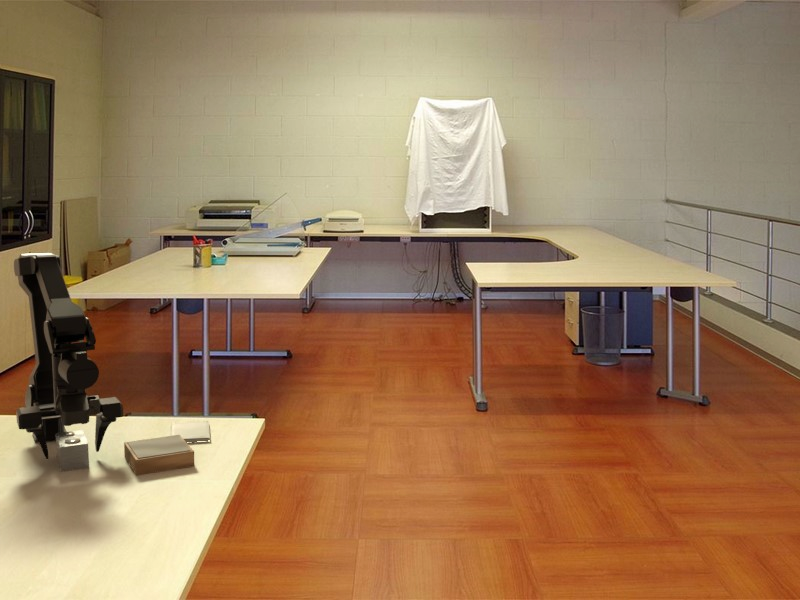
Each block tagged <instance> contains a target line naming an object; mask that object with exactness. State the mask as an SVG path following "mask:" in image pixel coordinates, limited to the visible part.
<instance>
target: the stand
mask: <svg viewBox="0 0 800 600" xmlns="http://www.w3.org/2000/svg"><path fill="white" fill-rule="evenodd" d="M123 444H124V445H123V447H124V452H123V453H124V458H125V460H126V462H127V463H128V465H129V466H130V467H131V469H132V470H133V472H134V474H135V476H141V475H147V474H153V473H159V472H165V471H172V470H178V469H183V468H184V469H185V468H189V467H194V466H195V450H194V449H193V448H192V447H191V446H190V445H189V443H186V441H185V440H184V439H183V438H182V437H181V436H180V435H174V436H171V435H168V436H160V437H153V438H147V439H140V440H132V441H125V442H123Z"/></svg>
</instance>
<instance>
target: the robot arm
mask: <svg viewBox="0 0 800 600" xmlns="http://www.w3.org/2000/svg"><path fill="white" fill-rule="evenodd" d="M62 267H63V266H62V258H61V256H59V254H58V255H57V254H54V253H51V252H45V253H43V252H42V253H39V252H37V253H21V254H19V257H17V258H15V259H14V260H13V272H14V276H15V277H17V280H18V285H19V287H20V288H21V289H22V291H24V293H25V294H26V295H27V296H28V297H27V298H28V304H29V311H30V322H31V330H32V331H31V332H32V340H33V348H34V359H35V365H34V368H33V369H32V372H31V374H30V375H29V379H28V380H29V384H28V385H27V387H26V392H25V396H24V403H25V407H23V406H22V407H19V408H18V409H17V410H16V411H15V413H16V416H15V417H16V424H17V428H18V429H19V430H25V431H26V433H28V434H29V433H32V436H33V439H34V442H36V443H39V445H40V448H41V451H42V452H43V456H44V458H45V460H49V449H48V445H47V441H56V433H62V432H68V431H67V428H66V427H69V426H72V425H79V424H81V425H85V424H88V423H89V422H90V416H95V435H94V436H95V439H94V445H95V452H96V453H98V452H100V448H101V446H102V442H103V440H104V436H105V434H106V431H107V430H108V427H109V426H110V424H111V423H114V422H117V418H122V417H124V406H123V404H122V402H121V401H120V400H119V398H117V397H116V396H113V397H105V398H100V397H99V395H98V394H97V395H87V392H86V389H89V388H91V387H93V386H94V385H95V384H96V383H97V381H98V379H99V376H100V371H99V370H100V369H99V368H98V365H97V364H96V362H95V361H93V360H92V359H91V358H89V356H88V352H87V351H95V350H96V346H95V345H96V343H97V339H96V336H95V333H94V329H93V326H92V323H91V322H90V320H89V318H88V317H86V315H85V313H84V311H83V309H82V307H81V306H80V305H78V304H77V303H75V302H73V301H72V298H71V295H70V292H69V289H68V287H67V285H66V281H65V279H64V276H63V269H62Z"/></svg>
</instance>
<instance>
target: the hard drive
mask: <svg viewBox="0 0 800 600" xmlns="http://www.w3.org/2000/svg"><path fill="white" fill-rule="evenodd" d="M174 435H180V436H181V437H182V438H183V439H184V440H185V441H186V443H187V442H197V441H208V440H210V441H211V432H210V422H209V420H207V421H201V420H188V421H187V420H185V421H184V420H183V421H173V422H171V425H170V436H174ZM187 444H188V443H187Z"/></svg>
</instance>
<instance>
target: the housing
mask: <svg viewBox="0 0 800 600" xmlns="http://www.w3.org/2000/svg"><path fill="white" fill-rule="evenodd" d="M55 446H56V447H55V448H56V449H55V450H56V458H57V462H58V465H59V470H60V472H61V473H62V472H69V471H77V470H83V469H84V470H85V469H90V454H89V453H90V452H89V442H88V439H87V437H86V435H85V433H84V430H83V429H80V430H72V431H67V432H62V433H56V440H55Z"/></svg>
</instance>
